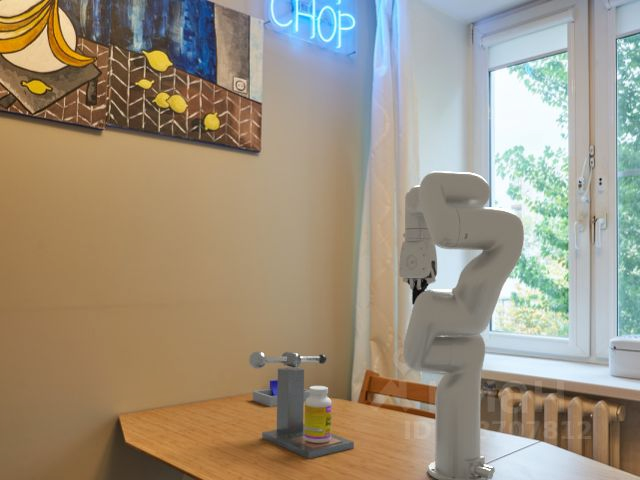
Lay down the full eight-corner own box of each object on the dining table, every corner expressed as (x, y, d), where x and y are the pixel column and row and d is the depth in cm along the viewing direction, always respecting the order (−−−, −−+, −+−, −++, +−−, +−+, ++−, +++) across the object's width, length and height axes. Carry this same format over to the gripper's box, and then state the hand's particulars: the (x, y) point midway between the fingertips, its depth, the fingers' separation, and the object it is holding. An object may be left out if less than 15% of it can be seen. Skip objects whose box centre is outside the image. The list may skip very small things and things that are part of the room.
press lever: (329, 368, 156) (331, 352, 156) (254, 370, 141) (255, 352, 141) (320, 365, 159) (321, 350, 160) (245, 367, 144) (246, 350, 145)
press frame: (353, 448, 140) (354, 376, 141) (308, 458, 132) (309, 382, 133) (305, 429, 156) (306, 365, 157) (262, 438, 147) (263, 370, 148)
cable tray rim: (311, 399, 192) (311, 391, 192) (270, 406, 182) (270, 397, 182) (293, 394, 200) (293, 385, 201) (252, 400, 190) (252, 391, 190)
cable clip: (295, 402, 186) (295, 384, 187) (282, 404, 185) (282, 385, 185) (282, 397, 197) (281, 379, 198) (269, 398, 195) (269, 380, 196)
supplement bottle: (328, 445, 137) (329, 391, 138) (301, 442, 138) (302, 389, 139) (333, 437, 143) (333, 385, 144) (307, 435, 145) (308, 384, 145)
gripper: (389, 236, 157) (388, 303, 156) (431, 234, 145) (430, 306, 144) (407, 238, 161) (407, 302, 160) (449, 236, 150) (449, 305, 149)
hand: (418, 304), depth 152 cm, fingers closed
